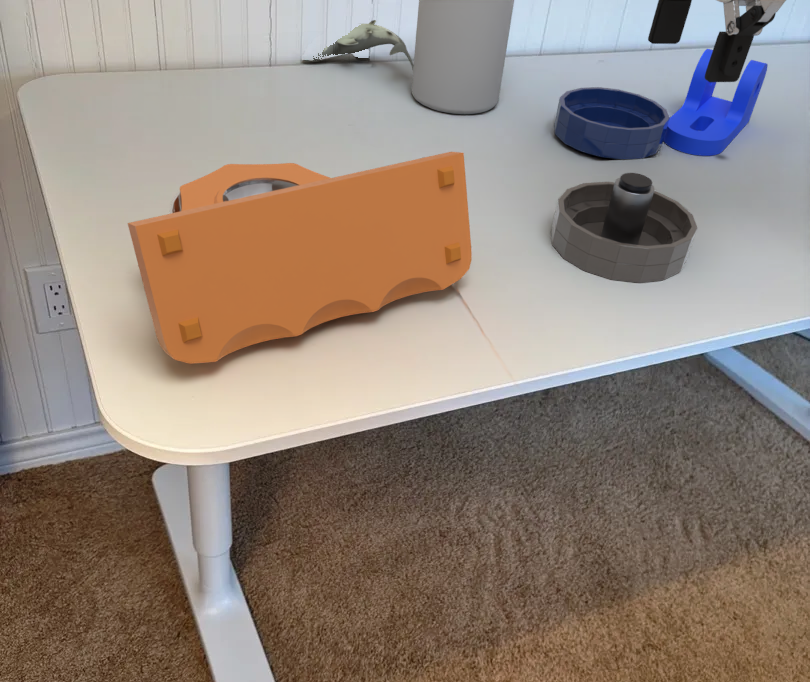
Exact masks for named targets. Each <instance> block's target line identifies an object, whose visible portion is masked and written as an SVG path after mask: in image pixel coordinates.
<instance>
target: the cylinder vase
mask: <svg viewBox="0 0 810 682" xmlns="http://www.w3.org/2000/svg"><path fill="white" fill-rule="evenodd" d="M514 5H515V0H418V9H417V17H416V18H417V19H416V31H415V32H416V33H415V41H414V42H415V44H414V52H413V53H414V54H413V69H412V78H411V95H412V96H413V98H414V99H415V100H416V101H417V103H418V102H419V104H421V105H423V106H424V107H426V108H429V109H430V110H434V111H436V112H437V111H438V112H442V113H446V114H452V115H453V114H454V115H475V114H481V113H485V112H487V111H488V112H489V111H490V110H492V109H493V108H495V107H496V105H497V104H498V103H499V101H500V94H501V87H502V83H503V82H502V81H503V75H504V69H505V63H506V56H507V50H508V44H509V37H510V30H511V24H512V18H513V11H514Z"/></svg>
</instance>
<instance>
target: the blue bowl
mask: <svg viewBox="0 0 810 682" xmlns="http://www.w3.org/2000/svg"><path fill="white" fill-rule="evenodd" d="M555 113H556V114H555V119H554V123H553V129H554V134H555V136H556V137H557V138H558V139H559V140H560V141H561V142H562V143H563V144H565V145H567V146H568V147H571V148H573V149H574V150H577V151H579V152H582V153H584V154H588V155H592V156H595V157H600V158H604V159H611V160H612V159H613V160H638V159H645V158H648V157H651V156H654V155H656V154H657V153H658V152H659V150H660V149H661V147H663V146H662V145H663V143H664V141H663V139H664V136H665V132H666V129H667V126H668V122H669V119H670V117H671V116H670V115H669V112H668V110H667V109H666V108H665V107H664V106H663V105H661V104H659V103H658V102H657V101H656V100H653V99H651V98H649V97H646V96H644V95H641V94H639V93H634V92H630V91H626V90H623V89H619V88H609V87H602V86H601V87H599V86H595V87H593V86H592V87H589V86H588V87H578V88H573V89H570V90H566V91H565V92H564V93H563V94H562V95H560V96H559V98H558V104H557V108H556V112H555Z"/></svg>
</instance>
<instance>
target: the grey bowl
mask: <svg viewBox="0 0 810 682" xmlns="http://www.w3.org/2000/svg"><path fill="white" fill-rule="evenodd" d="M614 184H615V181H596V182H595V181H594V182H583V183H580V184H578V185H577V184H576V185H575V186H573V187H569V188H567V189H566V190H565V191H564V192H563V193H562V194H561V196H560V197H559V198H558V199H557V201H556V202H557V203H556V207H555V212H554V217H553V221H552V226H551V231H550V235H551V237H550V238H551V245H552V247H553V248H554V249H555V250H556V251H557V252H558V254H559V255H560V256H561V258H562V259H564V260H565V261H567V262H568V263H570V264H571V265H573V266H574V267H575V266H576V267H577V268H578V269H580V270H582V271H584V272H586V273H590V274H592V275H596V276H598V277H602V278H605V279H608V280H612V281H618V282H619V281H620V282H627V283H628V282H629V283H635V284H641V283H642V284H643V283H650V282H651V283H652V282H661V281H664V280H667V279H669V278H671V277H673V276H675V275H678V274H679V273H681V271H682V270H683V268H684V266H685V264H686V262H687V259H688V257H689V254H690V251H691V248H692V245H693V243H694V240H695V236H696V234H697V231H698V225H697V223H696V220H695V217H694V215H693V213H691V212H690V210H688V209H687V208H686V207H685V206H683V204H681V203H680V202H679V201H677V200H675V199H673V198H671V197H669V196H667V195H665V194H663V193H661V192H659V191H656V190H654V193H653V197H652V200H651V203H650V207H649V210H648V213H647V217H646V220H645V223H644V227H643V230H642V233H641V237H640V240H639V243H638V245H634V244H626V243H620V242H617V241H613V240H610V239H607V238H604V237H601V233H602V229H603V225H604V222H605V218H606V214H607V210H608V207H609V203H610V199H611V195H612V192H613V188H614Z"/></svg>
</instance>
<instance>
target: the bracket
mask: <svg viewBox="0 0 810 682" xmlns="http://www.w3.org/2000/svg"><path fill="white" fill-rule="evenodd" d="M712 52H713V49H710V48H706V49H705V50H704V51H703V52H702V54H701V56H700V58H699V60H698V61H697V64H696V66H695V68H694V72H693V74H692V77H691V80H690V82H689V83H690V84H689V87H688V89H687V93H686V96H685V99H684V102H683V104H682V106H681V107H679V109H678V110H676V111H675V112H674V113H673V114H672V115H671V116H669V117H670V119H669V122H668V126H667V129H666V132H665V136H664V139H663V143H665V144H666V145H667V146H668V147H669V148H671V149H674V150H676V151H679V152H681V153H685V154H689V155H693V156H701V157H711V156H717V155H720V154H722V153H723V152H724V151H725V150H726V148H727V147H728V146H729V145H730V144H731V143H732V141H733V140H735V138H736V137H737V136H738V135H739V133H741V131H742V130H743V129H744V128H745V127H746V126H747V125H748V124H749V123H750V120H751V118H752V114H753V112H754V110H755V106H756V104H757V100H758V98H759V95H760V93H761V89H762V87H763V83H764V81H765V78H766V75H767V71H768V66H769V65H768V63H766V62H763V61H762V62H761V61H758V60H754V59H751V60H750V61H749V62H748V63H747V65H746V67H745V68H744V70H743V71H742V73H741V75H740V78H739V80H738V84H737V86H736V89H735V92H734V95H733V98H732V101H731V100H727V99H724V98H720V97H716V96H713V94H714V91H715V89H716V85H717V82H709V81H707V80H706V79H705V73H706V70H707V67H708V64H709V61H710V58H711V55H712Z"/></svg>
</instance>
